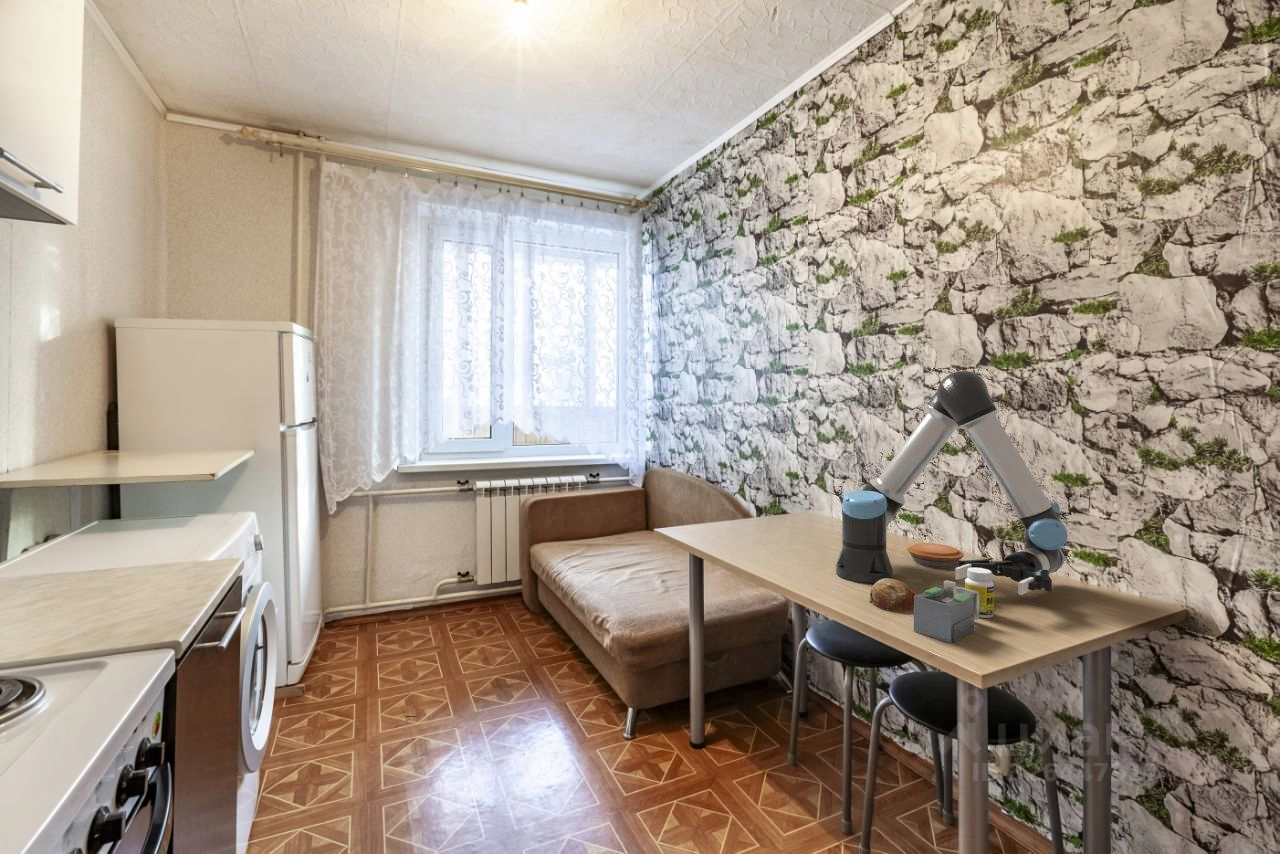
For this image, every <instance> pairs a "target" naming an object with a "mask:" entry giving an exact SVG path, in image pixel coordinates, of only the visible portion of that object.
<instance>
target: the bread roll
mask: <svg viewBox="0 0 1280 854" xmlns="http://www.w3.org/2000/svg"><path fill="white" fill-rule="evenodd" d="M914 596H916V594H915V593H914V592H913V591H912V590H911V588H910V587H909V585H907V584H906V583H905V582H902V581H900V580H899V579H894V578H893V579H889V578H885V579H881V580H879V581H877V582H876V583H873V585H872V587H870V593H869V597H870V598H869V600H868V602H870V603H871V604H873V605H874V606H876V607H878V608H879V607H880V608H879V609H882V608H883V610H886V609H888V610H887V611H893V610H896V612H898V611H897V610H902V611H909V610H911V609H914ZM908 609H909V610H908Z"/></svg>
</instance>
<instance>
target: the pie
mask: <svg viewBox="0 0 1280 854" xmlns="http://www.w3.org/2000/svg"><path fill="white" fill-rule="evenodd" d="M906 550H907V551H908V553H909V554H910V555H911V557H912V559H913V560H914V562H915V561H916V562H915V563H918V564H919V563H920V565H922V564H923V565H922V566H926V565H928V566H927V567H931V566H933V567H932V568H940V567H948V568H953V566H954V567H956V566H957V565H958V561H960V560H961V559H962V558H963V557H964V556H965V554H964V553H965V552H962V551H961V550H959V549H958V548H956V547H953V546H950V545H947V544H940V543H924V542H923V543H915V544H913V545H910V546H907V548H906Z"/></svg>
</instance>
